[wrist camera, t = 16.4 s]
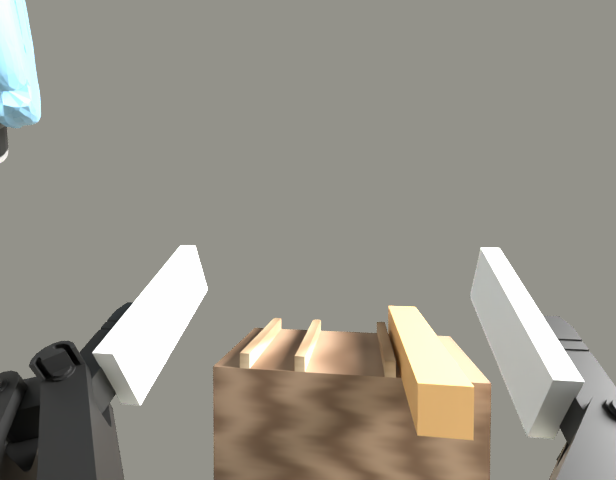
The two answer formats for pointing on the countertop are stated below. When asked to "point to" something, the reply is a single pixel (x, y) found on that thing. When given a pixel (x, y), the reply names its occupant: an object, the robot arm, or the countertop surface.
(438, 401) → the bar
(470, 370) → the brown patterned box
